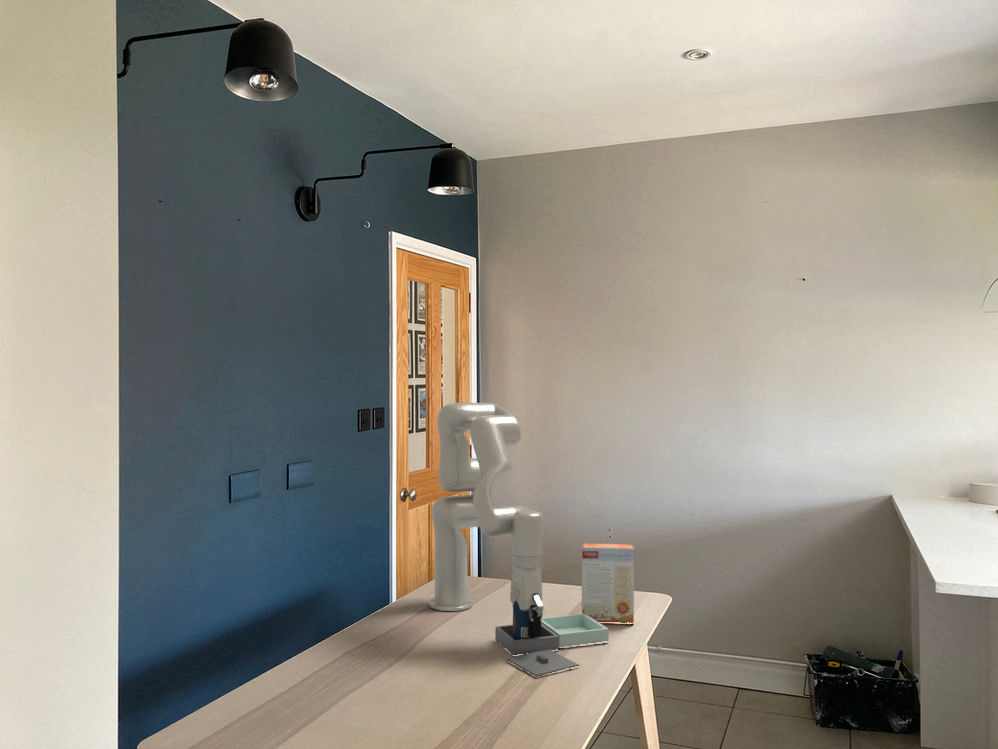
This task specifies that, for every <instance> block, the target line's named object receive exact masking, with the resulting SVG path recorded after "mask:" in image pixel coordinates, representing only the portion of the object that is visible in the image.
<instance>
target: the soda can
mask: <svg viewBox="0 0 998 749" xmlns="http://www.w3.org/2000/svg"><path fill="white" fill-rule="evenodd" d="M516 600H517V599H516ZM532 607H536V606H530V608H532ZM534 612H536V611H533V612H532V614H534ZM528 620H530V618H529V614H528V611H527V610H526V611H522V610H521V609H520V608H519V604H518V602H517V601H514V603H512V625H513V639H514V640H522V639H531V638H539V637H531V638H530V637H528ZM540 637H541V636H540Z"/></svg>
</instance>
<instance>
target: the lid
mask: <svg viewBox="0 0 998 749" xmlns="http://www.w3.org/2000/svg"><path fill="white" fill-rule="evenodd" d="M506 660H507V661H509V662H511V663H513V664H515V665H516V666H518V667H520V668H522V669H523V670H525V671H527V672H529V673H530V674H532V675H534V676H536V677H538V676H542V675H545V674H548V673H552V672H556V671H559V670H563V669H566V668H571V667H575V666H579V667H580V664H579V663H576V662H575V661H572V660H571V659H568V658H567V657H564V656H562V655H561V654H559V653H557V652H553V651H551V650H549V649H546V650H541V651H537V652H532V653H528V654H523V655H519V656H514V657H513V656H510V657H506ZM506 660H505V661H506Z"/></svg>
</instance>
